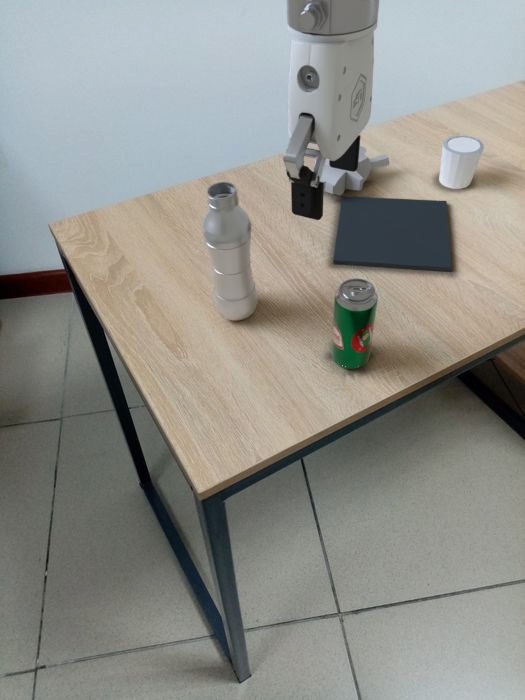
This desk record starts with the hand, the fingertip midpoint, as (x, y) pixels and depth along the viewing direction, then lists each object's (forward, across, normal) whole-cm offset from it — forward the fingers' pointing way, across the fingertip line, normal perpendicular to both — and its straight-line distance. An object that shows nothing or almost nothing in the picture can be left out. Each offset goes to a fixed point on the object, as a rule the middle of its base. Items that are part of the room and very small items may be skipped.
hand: (326, 190), depth 56 cm
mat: (+23, +27, -1) cm, 35 cm away
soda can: (+23, -2, -5) cm, 24 cm away
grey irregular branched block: (+23, +38, +11) cm, 45 cm away
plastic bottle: (+23, 0, +13) cm, 27 cm away
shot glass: (+23, +46, -7) cm, 52 cm away
